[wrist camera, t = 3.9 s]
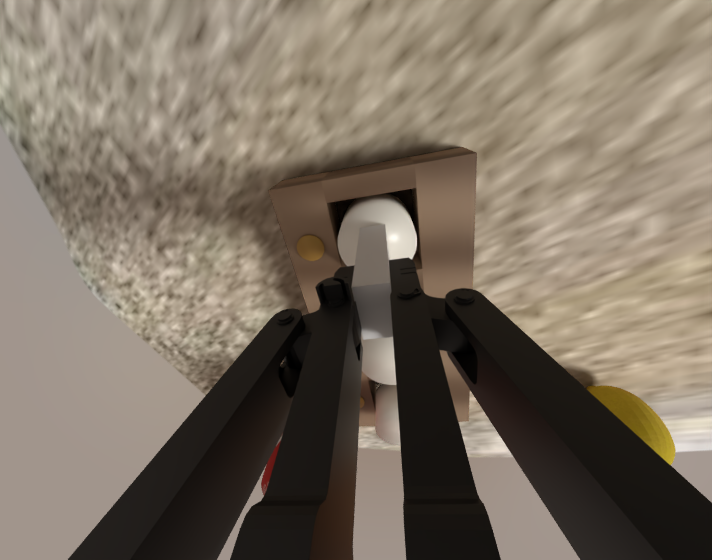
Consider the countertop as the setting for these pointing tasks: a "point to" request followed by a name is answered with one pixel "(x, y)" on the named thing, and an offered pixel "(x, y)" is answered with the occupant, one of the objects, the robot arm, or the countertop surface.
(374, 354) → the button mid
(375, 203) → the button
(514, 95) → the countertop surface
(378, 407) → the button
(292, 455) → the robot arm
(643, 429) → the lemon
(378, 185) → the brown wooden tray
